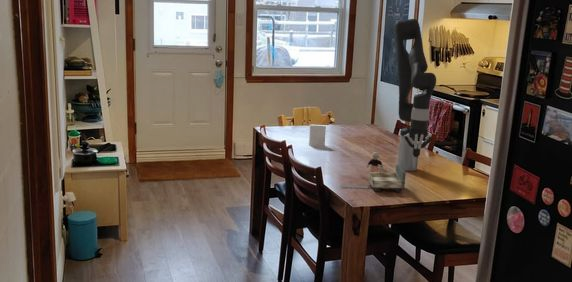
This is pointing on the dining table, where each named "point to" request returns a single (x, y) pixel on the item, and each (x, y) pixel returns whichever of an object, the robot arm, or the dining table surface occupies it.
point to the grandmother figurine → (374, 163)
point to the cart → (388, 179)
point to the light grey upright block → (317, 136)
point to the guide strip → (360, 187)
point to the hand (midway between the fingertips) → (415, 156)
